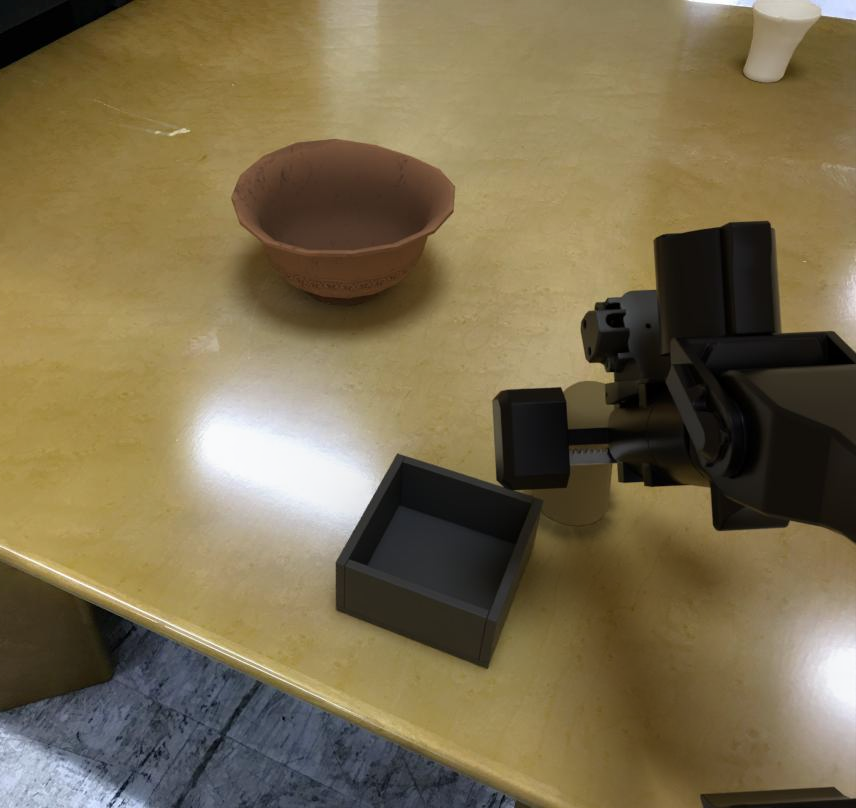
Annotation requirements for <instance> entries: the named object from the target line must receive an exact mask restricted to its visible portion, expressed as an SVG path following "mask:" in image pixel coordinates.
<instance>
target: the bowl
mask: <svg viewBox="0 0 856 808" xmlns="http://www.w3.org/2000/svg"><path fill="white" fill-rule="evenodd" d="M230 198H231V203H232V205H233V209H234V211H235V214H236V217H237V221H238V223H239V225H240V226H241V227H243V228H244V229H245V230H246V231H247V232H248V233H250V234H251V235H252V236H253V237H254V238H256V239H257V240H258V241H259V242H260V243H262V245H263V248H264V250H265V254H266V256H267V258H268V260H269V263H270V265H271V267H272V269H273V270H274V271H275V272H276V273H277V275H279V276H280V277H282V278H283V280H285V281H287V282H288V283H289V284H290V285H292V286H293V287H295V288H296V289H298V290H301V291H304V292H305V293H306V294H308V295H309V296H310V297H311V298H313V300H316V301H318V302H321V303H324V304H327V305H329V306H330V305H331V306H343V307H348V306H355V305H360V304H364V303H366V302H368V301H370V300H373V299H375V298H377V297H378V296H379V295H380V293H381V292H383V291H384V290H387V289H389V288H391V287H394V286H395V285H397V284H398V283H400V282H402V280H403V279H404V278H406V276H408V274H409V273H410V272H411V270H412V269H413V268H414V267H415V266H416V265H417V264H418V262H419V261H420V259H421V257H422V255H423V252H424V251H425V246H426V243H427V240H428V237H430V236H432V235H434V234H435V233H436V232H437V231H438V230H439V229H440V228H441V227H442V226H443V225H444V223H446V222H447V220H448V219H449V218H450V217H452V215H453V214H454V211H455V199H456V186H455V184H454V183H453V182H452V181H451V180H450V179H449V178H448V177H447V175H446V174H445V172H443V171H442V169H440V168H438V167H436V166H434V165H431V164H429V163H427V162H426V161H423V160H421V159H418V158H417V157H414V156H413V155H412V156H411V155H409V154H405V153H402V152H399V151H397V150H393V149H391V148H387V147H385V146H384V147H383V146H381V145H378V144H372V143H366V142H360V141H353V140H348V139H347V140H346V139H339V138H329V139H319V140H308V141H299V142H294V143H292V144H289V145H287V146H285V147H281V148H280V149H277V150H275V151H271V152H270V153H267V154H264V155H262V156H261V157H260V158H259V159H257V160H256V161H255V162H254V163H252V164H251V166H249V167H248V168H247V169H245V170H244V171H243V172H242V173H241V174H239V176H238V179H237V182H236V184H235V187H234V188H233V191H232V194H231V196H230Z"/></svg>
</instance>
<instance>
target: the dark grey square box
mask: <svg viewBox="0 0 856 808" xmlns="http://www.w3.org/2000/svg"><path fill="white" fill-rule="evenodd" d="M543 502H544V500H542V499H539V498H536V497H535V498H534V497H533V495H531V494H527V493H524V492H521V491H518V490H514V491H512V490H508V489H505V488H504V487H503V486H502V485H500V484H499V485H498V484H495V483H492V482H489V481H486V480H483V479H479V478H476V477H473V476H471V475H467V474H464V473H461V472H458V471H454V470H451V469H449V468H444V467H442V466H439V465H435V464H432V463H429V462H426V461H423V460H420V459H417V458H415V457H410V456H407V455H404V454H402V453H396V455H395V456H394V458H393V460H392V462H391V463H390V465H389V467H388V469H387V471H386V473H385V474H384V476H383V478H382V479H381V481H380V483H379V485H378V486H377V488H376V490H375V492H374V494H373V495H372V497H371V499H370V501H369V503H368V504H367V506H366V507H365V509H364V511H363V513H362V515H361V516H360V518H359V520H358V522H357V523H356V526H355V527H354V529H353V531H352V533H351V534H350V535H349V538H348V539H347V542H346V543H345V544H344V547H343V549H342V550H341V552H340V554H339V555H338V557H337V559H336V561H335V610H336V611H338V612H341V613H343V614H345V615H349V616H351V617H354V618H356V619H358V620H361V621H364V622H366V623H369V624H372V625H374V626H376V627H380V628H381V629H385V630H387V631H389V632H393V633H395V634H398V635H400V636H402V637H405V638H408V639H410V640H413V641H415V642H418V643H420V644H422V645H424V646H428V647H430V648H433V649H436V650H438V651H441V652H444V653H446V654H448V655H451V656H454V657H456V658H459V659H461V660H464V661H467V662H469V663H472V664H475V665H477V666H480V667H482V668H485V669H489V667H490V663H491V661H492V658H493V656H494V653H495V650H496V648H497V645H498V642H499V640H500V637H501V634H502V631H503V629H504V627H505V624H506V621H507V618H508V615H509V613H510V610H511V607H512V605H513V602H514V599H515V597H516V594H517V593H518V589H519V586H520V584H521V581H522V578H523V576H524V574H525V571H526V567H527V565H528V563H529V560H530V557H531V555H532V551H533V549H534V545H535V540H536V536H537V531H538V528H539V524H540V519H541V514H542V506H543Z"/></svg>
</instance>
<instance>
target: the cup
mask: <svg viewBox="0 0 856 808" xmlns="http://www.w3.org/2000/svg"><path fill="white" fill-rule="evenodd" d="M822 13H823V9H822V7H820V6H819V5H818V4H816V3H814V2H812V1H810V0H755V1H754V2H753V3H752V16H753V29H752V38H751V44H750V48H749V51H748V55H747V58H746V61H745V64H744V66H743V70H742V72H743V75H744V76H745V77H746V78H747V79H749V80H751V81H754V82H759V83H767V84H769V83H776V82H779V81H780V80H781V79H782V78H784V76H785V73H786V71H787V68H788V66H789V63H790V61H791V59H792V57H793V55H794V52H795V50H796V48H798V45H799V44H800V43H801V42H802V41H803V39H804V37H805V36H806V33H807V32H808V31H809V30H810V29H811V28H812V26H814V24H815V23H817V22H818V20H819V19H820V18H821V16H822Z"/></svg>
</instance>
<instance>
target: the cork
mask: <svg viewBox="0 0 856 808" xmlns="http://www.w3.org/2000/svg"><path fill="white" fill-rule="evenodd" d="M605 384H606V382H601V381H597V380H583V381H577V382H576V383H573V384H570V385H568V387H566V388H565V389H564V390H563V393H564V396H565V399H566V403H567V421H568V429H578V428H600V427H607V423H608V419H609V416H610V414H611V412H612V410H614V405H607V404H606V400H605ZM606 447H608V444H592V445H571V446H569V449H571V451H572V453H573V450H574V449H577V450H578V452H579V451H580V449H584V451H585V452H586V448H590V450H591V452H592V449H593V448H596V449H597V451H598V450H599V448H603V450H604V451H605V448H606ZM613 465H614V464H595V465H573V466H570V477H569V481H568V485H567V488H556V489H535V490H531V494H532V495H531V496H533V497H534V498H535V497H536V498H539V499H542V500H544V502H543V506H542V511H541V513H543V515H545V516H546V517H547V518H549V519H551V520H553V521H554V522H556V523H560V524H563V525H567V526H578V527H579V526H580V527H581V526H587V525H591V524H593V523H594V524H595V522H597V521H599V520H601V519H602V518H603V517H604V515H605V514H606V513H607V512H608V508H609V502H610V494H611V483H612V473H613Z"/></svg>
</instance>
